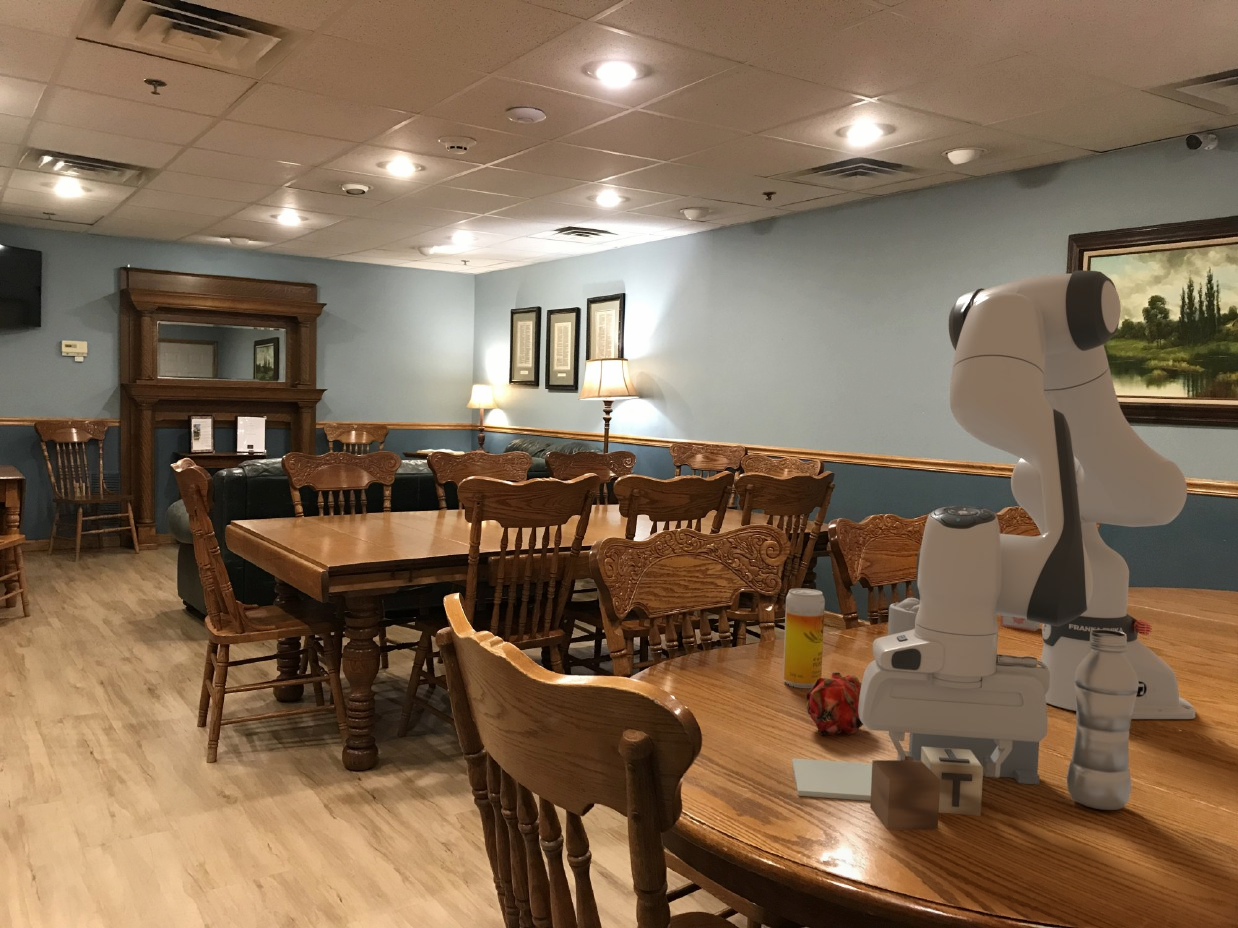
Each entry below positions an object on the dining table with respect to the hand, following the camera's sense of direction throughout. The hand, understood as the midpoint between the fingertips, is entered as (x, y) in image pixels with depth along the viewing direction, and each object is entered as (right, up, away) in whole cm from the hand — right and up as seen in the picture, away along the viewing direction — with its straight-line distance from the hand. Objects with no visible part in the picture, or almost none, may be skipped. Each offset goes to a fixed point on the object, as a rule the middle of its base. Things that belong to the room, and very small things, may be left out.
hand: (947, 772), depth 108 cm
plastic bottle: (+17, -4, +1) cm, 18 cm away
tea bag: (+47, +1, +91) cm, 102 cm away
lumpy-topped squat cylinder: (+20, 0, +72) cm, 75 cm away
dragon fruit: (-7, -2, +23) cm, 24 cm away
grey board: (+6, -3, +10) cm, 12 cm away
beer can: (-8, -1, +45) cm, 46 cm away
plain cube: (-6, -4, -4) cm, 8 cm away
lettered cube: (0, -4, 0) cm, 4 cm away
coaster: (-11, -3, +6) cm, 13 cm away
